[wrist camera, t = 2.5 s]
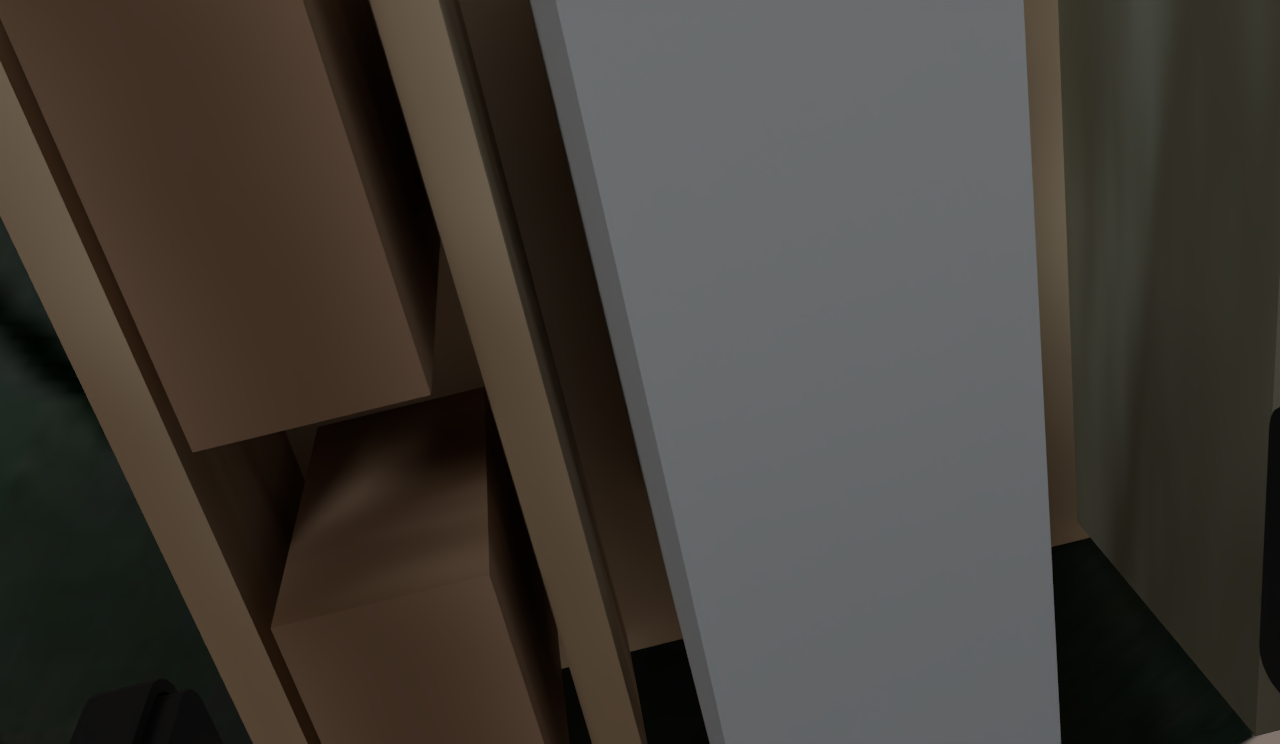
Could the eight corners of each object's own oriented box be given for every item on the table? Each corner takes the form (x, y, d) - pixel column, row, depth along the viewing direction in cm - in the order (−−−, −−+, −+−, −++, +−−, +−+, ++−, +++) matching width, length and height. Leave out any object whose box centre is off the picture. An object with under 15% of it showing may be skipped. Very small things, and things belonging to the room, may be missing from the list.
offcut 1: (332, -119, 18) (276, -79, 13) (440, 240, 21) (431, 395, 16) (128, -72, 18) (-14, -13, 13) (262, 282, 21) (192, 452, 16)
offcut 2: (483, 386, 22) (489, 574, 17) (557, 631, 25) (581, 859, 20) (318, 426, 22) (271, 628, 17) (409, 668, 25) (394, 907, 20)
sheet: (617, -184, 18) (1017, -106, 5) (741, 462, 24) (1090, 1322, 10) (491, -155, 18) (555, -1, 5) (644, 486, 24) (871, 1380, 10)
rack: (1093, -367, 19) (1455, -456, 12) (1111, 488, 27) (1338, 736, 20) (-52, -105, 19) (-363, -41, 12) (299, 688, 27) (238, 1015, 20)
